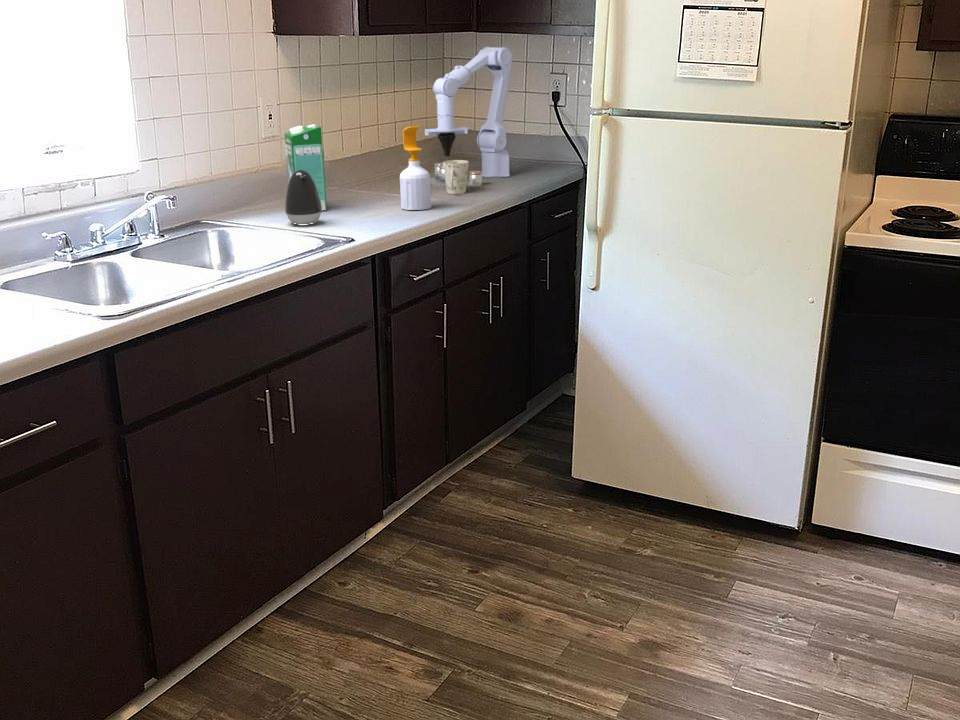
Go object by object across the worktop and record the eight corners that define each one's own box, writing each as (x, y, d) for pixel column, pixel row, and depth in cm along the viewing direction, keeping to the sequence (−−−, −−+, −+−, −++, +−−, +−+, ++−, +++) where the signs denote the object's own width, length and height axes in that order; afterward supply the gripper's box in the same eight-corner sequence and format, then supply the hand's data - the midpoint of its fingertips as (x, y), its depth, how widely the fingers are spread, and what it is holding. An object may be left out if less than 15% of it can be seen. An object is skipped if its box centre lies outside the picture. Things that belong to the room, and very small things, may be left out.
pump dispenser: (291, 229, 270) (286, 173, 265) (282, 222, 279) (278, 168, 274) (327, 225, 274) (323, 171, 269) (317, 218, 283) (313, 166, 278)
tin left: (445, 176, 346) (445, 162, 344) (449, 178, 342) (448, 164, 340) (433, 177, 345) (432, 163, 343) (436, 179, 341) (436, 164, 339)
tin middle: (450, 179, 341) (449, 164, 339) (453, 181, 337) (453, 166, 335) (437, 180, 340) (437, 165, 338) (441, 182, 336) (440, 167, 334)
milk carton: (290, 209, 298) (283, 125, 289) (319, 206, 301) (313, 123, 293) (297, 214, 290) (290, 128, 282) (327, 211, 293) (321, 126, 285)
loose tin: (480, 185, 332) (480, 170, 330) (484, 187, 328) (484, 172, 326) (467, 186, 330) (467, 171, 329) (471, 188, 326) (471, 173, 325)
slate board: (455, 177, 348) (455, 176, 347) (470, 185, 331) (470, 183, 331) (423, 180, 344) (423, 178, 344) (436, 188, 328) (436, 186, 328)
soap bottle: (408, 212, 289) (404, 127, 281) (396, 207, 297) (392, 125, 289) (435, 209, 293) (433, 125, 285) (423, 204, 301) (420, 123, 293)
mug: (470, 190, 323) (469, 160, 319) (466, 197, 311) (465, 165, 308) (445, 190, 324) (444, 160, 320) (440, 197, 312) (439, 165, 308)
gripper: (463, 113, 334) (464, 153, 338) (422, 115, 330) (423, 155, 334) (469, 114, 327) (469, 155, 332) (427, 116, 323) (428, 158, 328)
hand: (447, 156), depth 333 cm, fingers closed
